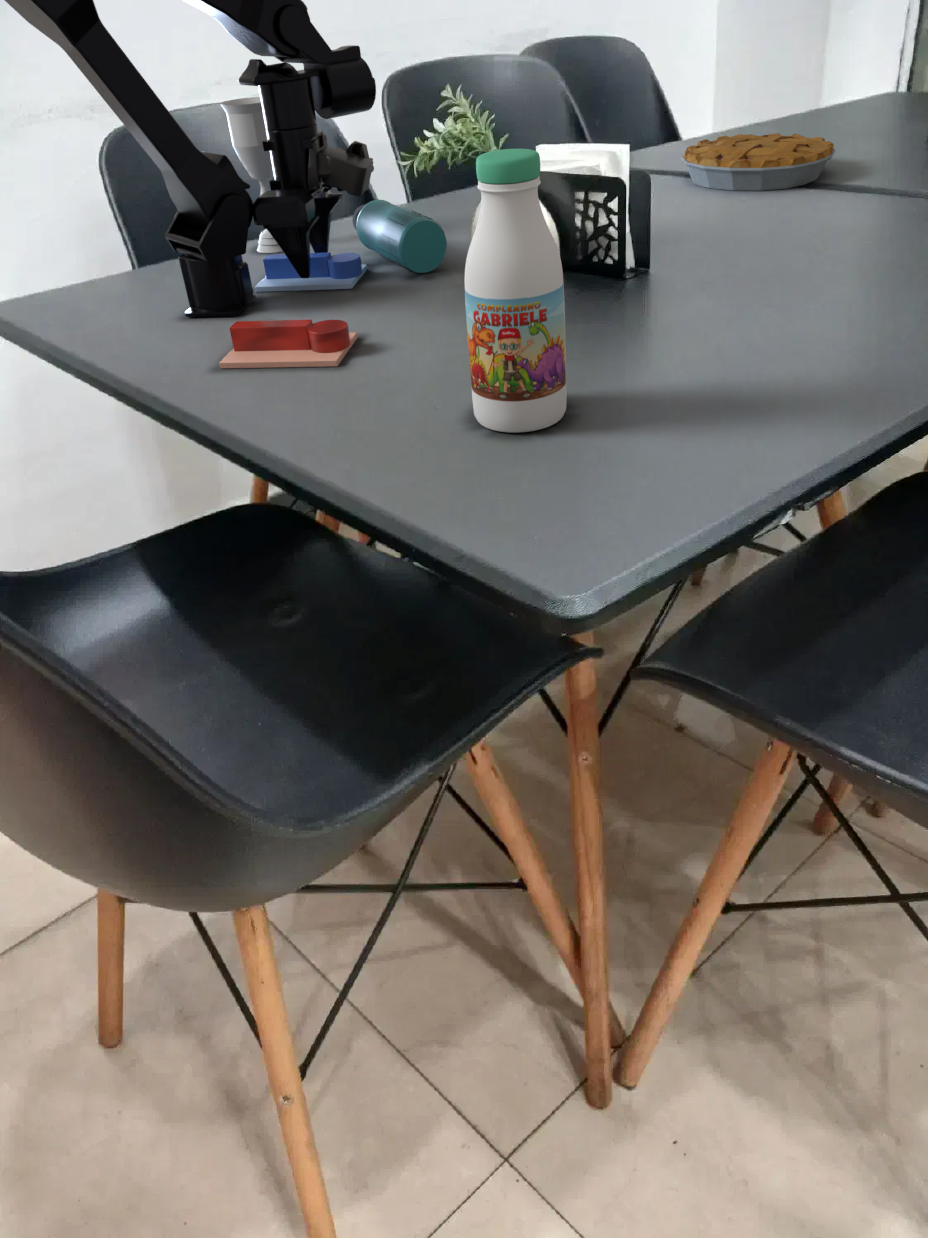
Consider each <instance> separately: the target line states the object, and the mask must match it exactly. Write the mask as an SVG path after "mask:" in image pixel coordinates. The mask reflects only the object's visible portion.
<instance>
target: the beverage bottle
mask: <svg viewBox="0 0 928 1238" xmlns="http://www.w3.org/2000/svg"><path fill="white" fill-rule="evenodd" d="M352 226H353V228H354V230H355V231H356V235H357V237H358V239H359V241H360V242H361V244H362V245H363V246H364V247H365V248H367V249H368V250H370V251H373V252H375V253H377V254H379V255H380V256H381V257H384V258H385V259H387V260H389V261H391V263H393V264H395V265H397V266H399V267H401V268H403V269H405V270H406V271H409V272H410V273H415V274H416V275H417V274H421V275H423V274H427V273H429V272H432V271H433V270H435V269H436V268H437V267H438V266H440V264H441V263H442V262H443V260H444V259H445V256H446V253H447V247H448V244H447V243H448V242H447V237H446V233H445V230H444V229H443V227H442V226H441V224H440V223H438V222H437V221H436V220H434V218H432V217H428V216H427V215H425V214H422V213H419V212H416V211H415V210H413V209H409V208H407V207H406V208H405V207H402V206H398V205H396V204H394V203H391V202H390V201H388V200H386V199H374V200H371V201H369V202H368V203H365V204H362V205H360V206H358V207H357V208H356V209H355V211H354V212H353V215H352Z"/></svg>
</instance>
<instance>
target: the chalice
mask: <svg viewBox="0 0 928 1238" xmlns="http://www.w3.org/2000/svg"><path fill="white" fill-rule="evenodd" d="M219 105H220V107H221V108H222V109H223V111H224V112H225V115H226V119H227V125H228V129H229V135H230V141H231V145H232V148H233V149H234V152H235V153H236V155H237V158H238V159H239V161H240V163H241V164H242V166H243V167H244V168H245V170H246V171H247V173H248V175H249V176H250V178H251V179H253V180H256V181H258V184H259V187H260V195H262V194H263V193H265V192H266V191H270V189H269V187H268V180H269V179H270V178H272V177H274V172H273V166H272V161H271V155H270V151H264V149H263V143H262V141H264V140H266V139H268V138H267V132H266V126H265V121H264V115H263V109H262V103H261V98H260V96H251V97H241V98H235V99H230V100H225V101H221V102H220V103H219ZM260 195H259V196H260ZM258 237H259V239H258V242H257V244H258V245H257V249H256V251H257V253H261V254H276V253H282V252H283V251H282V249H281V248H280V246H279V245H278V243H277V242H276V241H275V239H274V238H273V237H272V235H271V234H270V233H269V231H268V230H267V229H263V230H262V231H260V233H259V236H258Z"/></svg>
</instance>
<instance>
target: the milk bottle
mask: <svg viewBox="0 0 928 1238" xmlns="http://www.w3.org/2000/svg"><path fill="white" fill-rule="evenodd" d="M475 170H476V171H475V173H476V178H477V190H479V192H480V196H481V197H480V199H481V200H480V209H479V213H478V214H479V215H478V220H477V223H476V227H475V230H474V233H473V236H472V239H471V240H470V243H469V248H468V251H467V255H466V259H465V266H464V300H465V301H464V304H465V319H466V332H467V333H466V336H467V347H468V360H469V373H470V384H471V398H472V399H471V400H472V407H473V415H474V418H475V419H476V421H477V422H478V423H479V424H480V426H482V427H484V428H486V429H489V430H492V431H496V432H502V433H527V432H528V433H529V432H535V431H538V430H543V429H547V428H548V427H551V426H553V425H555V424H557V423H559V421H561V420H562V419H563V417H564V415H565V412H566V411H567V400H568V399H567V396H568V395H567V349H566V346H567V344H566V312H565V311H566V309H565V307H566V306H565V305H566V304H565V288H564V287H565V285H564V272H563V265H562V260H561V256H560V255H561V254H560V252H559V249H558V246H557V243H556V241H555V238H554V236H553V234H552V232H551V230H550V228H549V226H548V224H547V222H546V218H545V216H544V213H543V211H542V206H541V203H540V199H539V192H538V191H539V190H538V189H539V186H540V185H541V184H542V181H541V177H540V175H541V157H540V153H539V152H538V151H537V150H534V149H530V148H504V149H503V148H502V149H497V150H492V151H487V152H485V153H481V154H479V155H478V156H477V157H476V159H475Z"/></svg>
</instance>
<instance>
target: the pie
mask: <svg viewBox="0 0 928 1238" xmlns="http://www.w3.org/2000/svg"><path fill="white" fill-rule="evenodd" d="M834 147H835V144H834V142H831V141H830V140H829V141H828V140H827V141H826V139H825V137H820V136H815V137H807V136H805V135H801V134H798V133H794V134H791V135H782V134H781V133H778V132H777V133H769V134H763V135H756V134H755V135H754V134H753V133H752V134H742V133H739V134H736V135H732V136H728V135H721V136H717V137H716V139H715V140H709V139H708V138H706V139H703V140H699V141H698V142H697V144H696V145H688V146H687V147H686V149H685V150H684V154H683V155H682V156H681V158H680V159H681V161H682V162H683V163H684V164H685V166H686V168H687V171H688V173H689V177H690V179H691V181H692V182H693V184H694V185H695V186H699V187H704V188H707V189H716V190H724V191H725V190H727V191H758V192H759V191H772V190H786V189H791V188H795V187H800V186H804V185H807V184H809V183H812V182H814V181H817V179H818V178H819V176H820V174H821V172H822V171H823V169H824V168H825V166H826V164H827V162H828V161H830V160H831V159H832V158H833V157H834V155H835V153H836V149H835V148H834Z"/></svg>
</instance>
